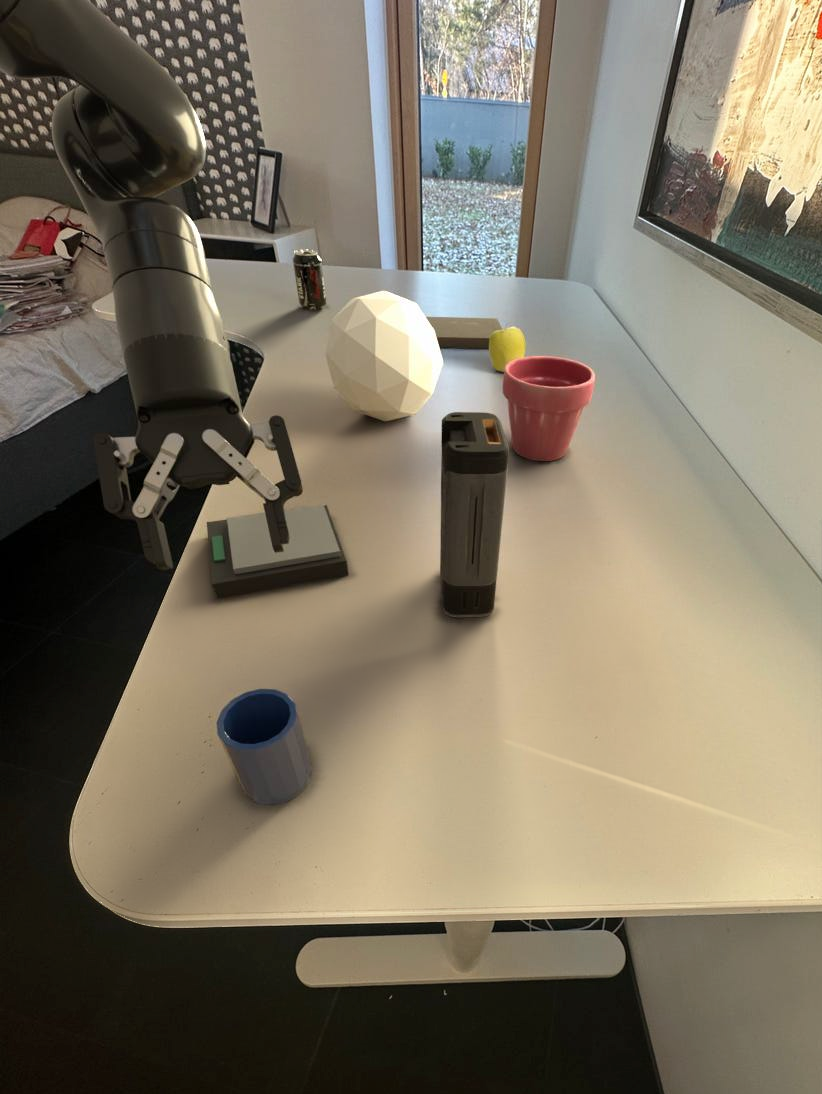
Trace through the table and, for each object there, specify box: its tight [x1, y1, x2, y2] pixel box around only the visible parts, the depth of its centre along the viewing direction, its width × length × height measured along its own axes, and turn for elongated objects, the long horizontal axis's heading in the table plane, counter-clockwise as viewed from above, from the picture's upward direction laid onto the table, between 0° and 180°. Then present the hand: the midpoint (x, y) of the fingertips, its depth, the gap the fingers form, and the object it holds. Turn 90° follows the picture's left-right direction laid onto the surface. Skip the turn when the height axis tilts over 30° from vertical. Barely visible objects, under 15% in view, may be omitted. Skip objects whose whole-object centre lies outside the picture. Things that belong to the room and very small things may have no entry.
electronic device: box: [439, 411, 510, 618], centre depth 61 cm, size 9×6×20 cm, turn 6°
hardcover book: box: [425, 316, 503, 350], centre depth 134 cm, size 16×23×2 cm
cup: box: [216, 688, 313, 806], centre depth 46 cm, size 6×6×8 cm
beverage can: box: [292, 249, 327, 311], centre depth 142 cm, size 7×7×12 cm
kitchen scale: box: [206, 503, 349, 600], centre depth 70 cm, size 15×13×3 cm
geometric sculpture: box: [325, 290, 444, 422], centre depth 96 cm, size 19×20×20 cm
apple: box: [488, 324, 526, 373], centre depth 119 cm, size 8×8×10 cm
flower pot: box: [502, 355, 596, 462], centre depth 91 cm, size 14×14×13 cm
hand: (223, 559), depth 45 cm, fingers open, 8 cm apart
